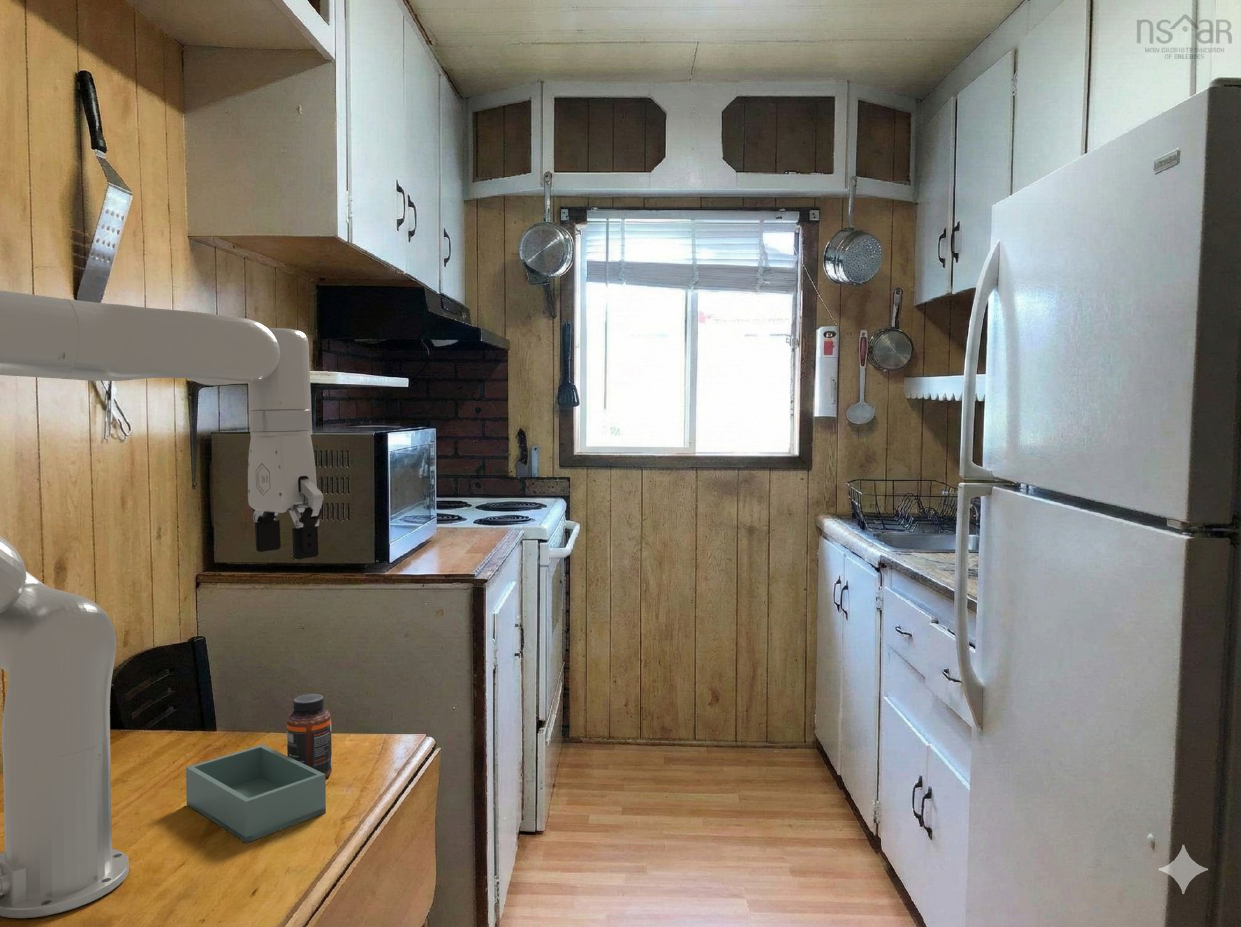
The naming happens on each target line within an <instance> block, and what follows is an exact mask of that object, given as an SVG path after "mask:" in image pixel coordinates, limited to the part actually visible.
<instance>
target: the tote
mask: <svg viewBox="0 0 1241 927" xmlns="http://www.w3.org/2000/svg"><path fill="white" fill-rule="evenodd" d="M185 775H186V776H185V777H186V778H185V779H186V781H185V782H186V786H185V787H186V790H185V791H186V806H188V807H189V806H190V809H192V808H193V809H192V810H193V811H195V810H196V811H195V812H199V813H198V814H201V815H202V816H203V817H205V818H206V817H207V819H208V820H209V819H210V821H211V822H212V823H214V824H215V825H217V826H219V827H221V828H222V829H224V830H225V831H227V832H228V833H230V834H231V835H233V836H235V837H236V838H237V839H239V840H240V841H242V842H244V843H246V844H249V843H251V842H253V841H255V840H258V839H261V838H265V837H267V836H269V835H272V834H274V833H276V832H279V831H282V830H285V829H288V828H289V827H292V826H295V825H298V824H301V823H303V822H305V821H308V820H311V819H314V818H316V817H319V816H321V815H324V814H326V813H327V812H326V810H327V809H326V808H327V803H326V802H327V800H326V799H327V798H326V797H327V795H326V794H327V793H326V792H327V791H326V786H327V785H326V778H325V774H324V773H322V772H319V771H317V770H315V769H313V768H311V767H309V766H307V765H305V764H303V763H301V762H298V761H296V760H294V759H292V758H290V757H288V756H287V755H286V754H284V753H282V752H279V751H277V750H276V749H273V748H271V747H269V746H267V745H265V744H260V745H256V746H253V747H249V748H247V749H243V750H239V751H236V752H234V753H233V752H232V753H229V754H226V755H223V756H220V757H215V758H213V759H210V760H206V761H203V762H200V763H196V764H193V765H190V766H187V767H185Z"/></svg>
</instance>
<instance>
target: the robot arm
mask: <svg viewBox="0 0 1241 927" xmlns="http://www.w3.org/2000/svg"><path fill="white" fill-rule="evenodd" d="M310 366H311V365H310V346H309V340H308V337H307V335H306V334H305V333H304V332H303V331H301V330H297V329H292V328H282V327H281V328H279V327H273V328H272V327H271V328H270V327H267V326H265V325H264V324H262V323H261V322H258V321H256V320H253V319H249V318H244V317H239V316H229V315H223V314H217V313H215V314H214V313H206V312H198V311H189V310H177V309H168V308H167V309H166V308H165V309H164V308H153V307H143V306H135V305H129V304H128V305H127V304H118V303H117V304H116V303H105V302H104V303H103V302H96V301H86V300H78V299H70V298H61V297H53V296H47V295H46V296H45V295H37V294H31V293H30V294H29V293H25V292H24V293H22V292H15V291H7V290H1V289H0V376H9V377H10V376H11V377H25V378H26V377H29V378H30V377H31V378H44V379H45V378H46V379H62V380H74V381H75V380H77V381H87V382H88V381H93V382H94V381H95V382H124V381H125V382H126V381H133V380H145V379H167V378H169V379H189V380H190V381H192V382H195V383H198V384H201V385H205V386H206V385H207V386H225V385H233V384H234V385H235V384H236V385H237V384H248V385H247V386H248V387H247V388H248V389H247V390H248V404H249V406H248V407H249V408H248V409H249V429H250V431H249V432H250V434H249V435H250V440H249V441H250V442H249V447H248V448H249V450H248V462H247V463H248V464H247V465H248V466H247V502H248V506H249V507H250V508H251V509H252V511H253V514H252V519H253V522H254V531H255V532H254V533H255V550H256V552H259V553H263V552H269V551H276V550H280V549H281V548H282V547H281V546H282V545H281V543H282V542H281V524H280V523H281V522H280V519H277V517H278V516H279V514H281V513H282V514H283V513H286V512H287V511H288V512H289V514H290V517H291V519H292V521H293V524H294V526H295V527H293V528H291V532H292V533H291V534H292V554H293V556H292V558H293V559H295V560H302V559H310V558H315V557H318V556H319V532H318V528H319V525H320V517H321V515H322V505H323V502H324V494H323V493H322V491H321V490H320V489H319V488H318V485H317V474H316V473H317V472H316V471H317V470H316V463H315V462H316V461H315V453H314V447H313V441H312V435H313V422H312V394H311V373H310V372H311V369H310V368H311V367H310ZM301 513H302V514H301ZM116 654H117V633H116V630H115V626H114V623H113V621H112V620H111V618H110V616H109V615H108V613H107V611H105V610H104V609H103V608H102V607H101V606H100V605H99V604H97V603H96V602H95V601H93V600H92V599H89V598H87V597H85V596H82V595H79V594H77V593H72V592H67V591H65V590H60V589H56V588H52V587H50V586H47V585H46V584H44V583H43V582H42V581H40V580H39V579H37V578H36V577H35V576H34V575H32V574H31V573H30V572H28V571H27V569H26V566H25V562H24V559H23V558H22V556H21V555H20V553H19V551H18V550H17V549H16V548H15V546H13V545H12V544H11V542H9V541H8V540H7V539H5V538H4V537H3V536H1V535H0V669H1V670H3V671H5V672H6V673H7V678H8V682H7V689H6V690H7V691H6V695H5V700H4V706H3V712H2V722H1V723H2V724H1V725H2V726H1V727H2V728H1V747H2V771H3V772H2V778H3V814H4V818H3V819H4V822H3V824H4V851H3V852H0V917H3V918H4V917H5V918H10V919H30V918H32V919H33V918H39V917H47V916H51V915H55V914H60V913H64V912H67V911H70V910H73V909H74V910H75V909H77V908H79V907H82V906H85V905H87V904H89V903H92V902H94V901H96V900H98V899H99V898H100V899H101V898H102V897H103V896H105V895H107V894H109V893H110V892H112V891H113V890H114V889H115V888H117V887H118V886H119V885H120V884H122V882H123V881H125V879H126V877H128V874H129V872H130V860H129V859H130V858H129V857H128V855H127V854H126V853H124V852H123V851H121V850H118V849H117V848H116V849H115V848H113V821H112V820H113V819H112V818H113V817H112V816H113V815H112V773H111V772H112V769H111V768H112V767H111V765H112V764H111V761H112V760H111V714H110V713H111V711H110V710H111V707H110V706H111V688H112V679H113V672H114V668H115V662H116V657H117V656H116Z"/></svg>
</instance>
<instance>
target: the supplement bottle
mask: <svg viewBox="0 0 1241 927" xmlns="http://www.w3.org/2000/svg"><path fill="white" fill-rule="evenodd" d="M324 706H325V703H324V696H323V695H322V694H319V693H308V694H303V695H299V696H297V697H295V698H294V699H293V706H292V707H293V711H292V712H291V713H290V714H289V715H288V716H287V719H286V748H287V749H286V750H287V751H286V752H287V755H286V756H288V757H290V758H292V759H294V760H296V761H298V762H301V763H303V764H305V765H307V766H309V767H311V768H313V769H315V770H317V771H319V772H322V773H324V774H325V779H326V778H328V777H329V776H330V775H331V773H332V770H333V768H332V767H333V759H332V758H333V756H332V753H333V752H332V751H333V750H332V748H333V747H332V746H333V745H332V742H333V741H332V716H331V715H332V714H331V713H330V711H329V710H328V709H326V708H325V707H324Z"/></svg>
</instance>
